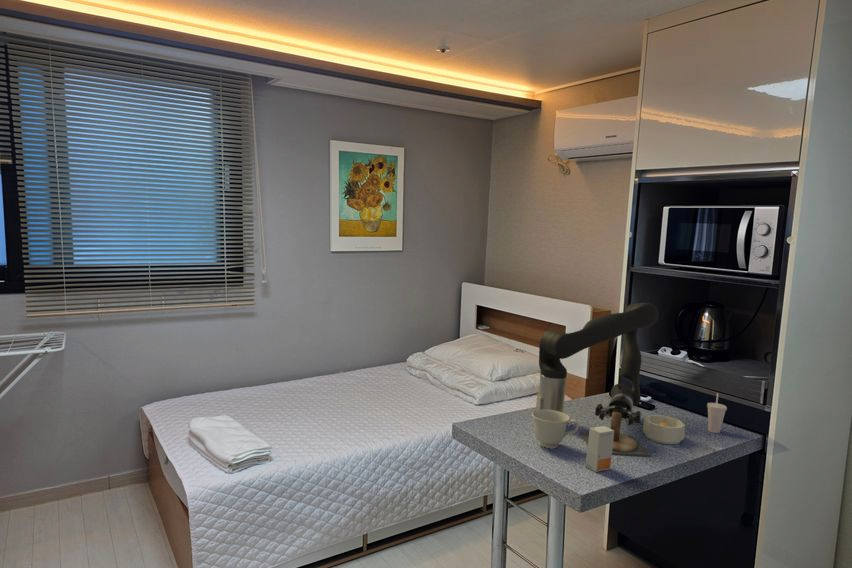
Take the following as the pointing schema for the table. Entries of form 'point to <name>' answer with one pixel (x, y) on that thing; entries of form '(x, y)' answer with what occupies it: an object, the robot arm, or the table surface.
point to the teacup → (551, 427)
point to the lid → (621, 436)
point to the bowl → (663, 429)
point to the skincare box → (599, 448)
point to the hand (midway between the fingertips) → (615, 419)
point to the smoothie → (715, 416)
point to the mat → (637, 452)
